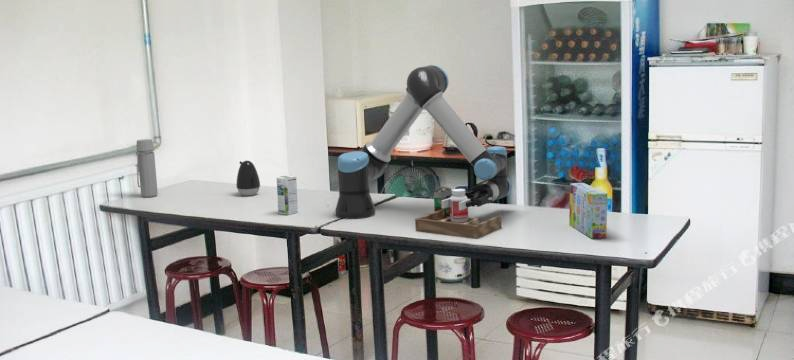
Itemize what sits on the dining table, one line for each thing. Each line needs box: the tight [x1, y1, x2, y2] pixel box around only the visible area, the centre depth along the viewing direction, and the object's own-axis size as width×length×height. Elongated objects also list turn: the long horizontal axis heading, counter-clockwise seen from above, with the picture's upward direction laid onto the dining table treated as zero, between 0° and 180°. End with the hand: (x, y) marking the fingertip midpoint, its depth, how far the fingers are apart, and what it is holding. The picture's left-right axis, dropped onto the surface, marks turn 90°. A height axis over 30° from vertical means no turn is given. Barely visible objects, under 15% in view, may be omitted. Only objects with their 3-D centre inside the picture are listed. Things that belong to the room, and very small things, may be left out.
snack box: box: [568, 182, 608, 240], centre depth 284 cm, size 21×6×15 cm, turn 9°
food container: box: [433, 186, 453, 218], centre depth 316 cm, size 12×6×10 cm, turn 168°
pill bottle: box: [449, 188, 469, 223], centre depth 294 cm, size 6×6×11 cm
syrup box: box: [276, 175, 299, 216], centre depth 329 cm, size 6×6×14 cm
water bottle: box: [135, 138, 159, 198], centre depth 373 cm, size 9×8×25 cm
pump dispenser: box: [236, 160, 261, 197], centre depth 369 cm, size 10×10×15 cm
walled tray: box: [414, 209, 502, 239], centre depth 294 cm, size 17×24×4 cm
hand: (451, 205), depth 289 cm, fingers closed on pill bottle, 6 cm apart
